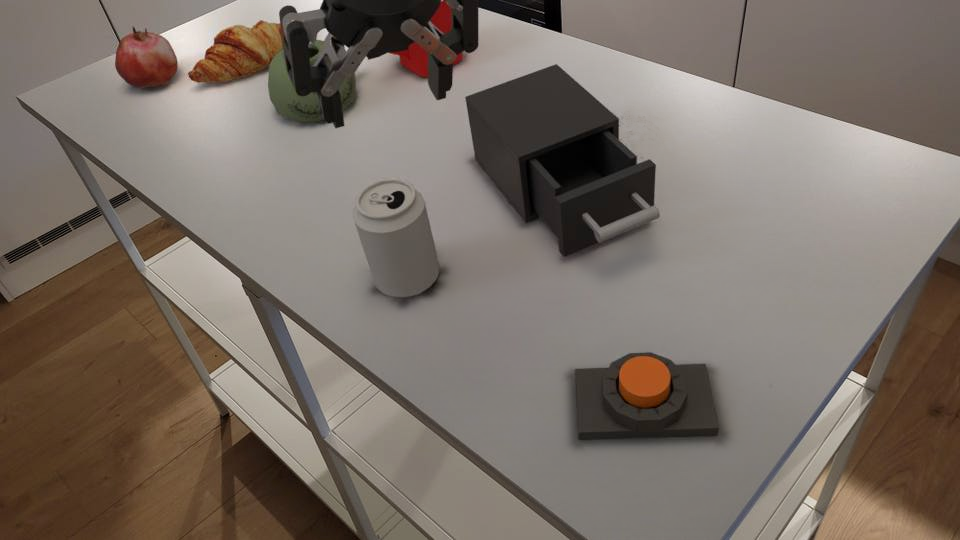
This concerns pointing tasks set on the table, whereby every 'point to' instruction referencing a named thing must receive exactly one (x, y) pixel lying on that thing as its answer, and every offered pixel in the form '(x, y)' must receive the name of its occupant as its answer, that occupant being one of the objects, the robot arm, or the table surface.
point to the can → (396, 237)
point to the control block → (617, 418)
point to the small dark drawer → (591, 191)
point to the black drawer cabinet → (531, 126)
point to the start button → (644, 382)
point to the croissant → (239, 52)
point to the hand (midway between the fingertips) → (387, 106)
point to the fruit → (145, 59)
